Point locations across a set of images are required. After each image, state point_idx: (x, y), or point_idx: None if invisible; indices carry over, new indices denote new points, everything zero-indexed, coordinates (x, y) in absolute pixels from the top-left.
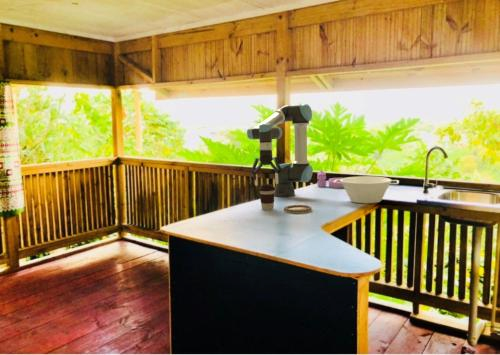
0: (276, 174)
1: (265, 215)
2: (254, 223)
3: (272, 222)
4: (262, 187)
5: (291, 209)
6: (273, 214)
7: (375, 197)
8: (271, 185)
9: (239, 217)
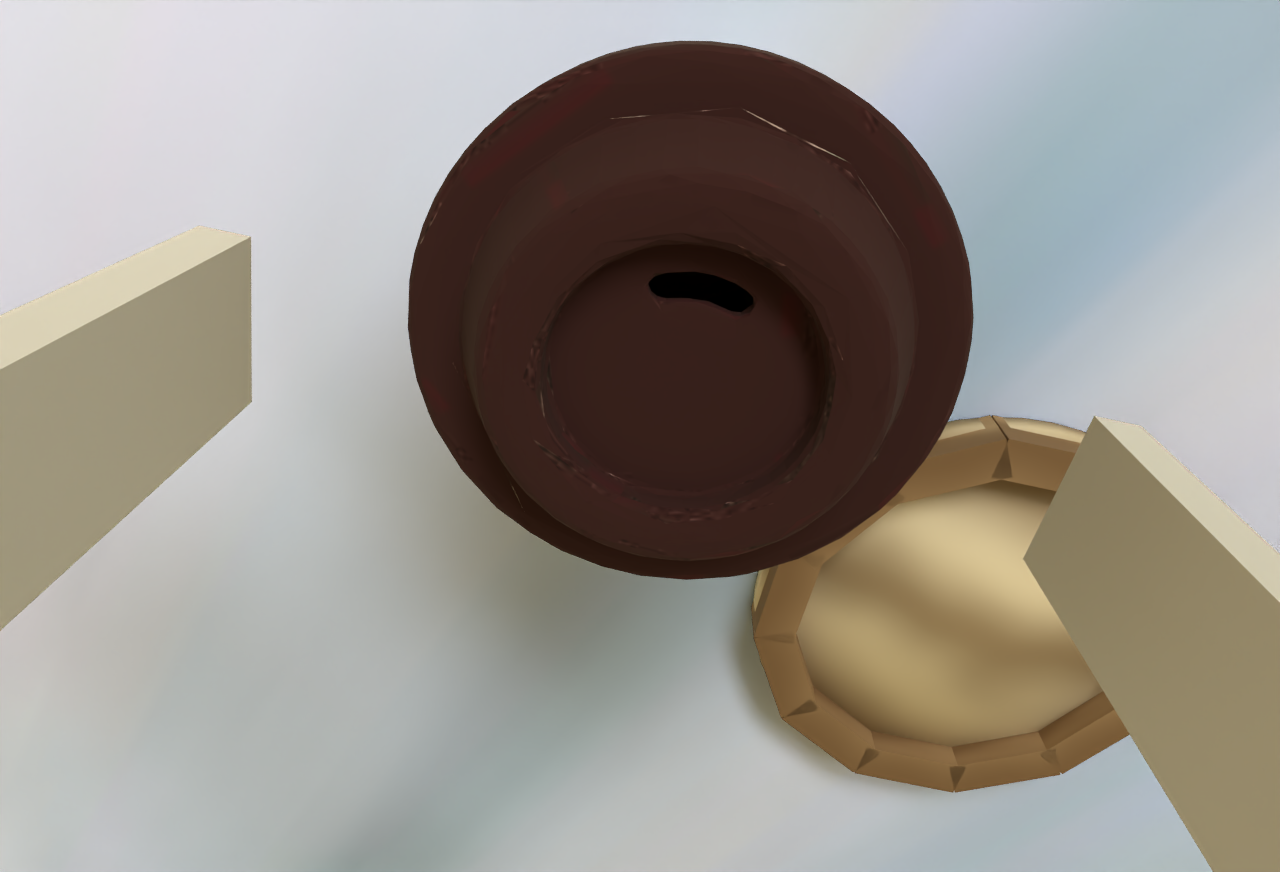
0: (1243, 828)
1: (404, 537)
2: (115, 733)
3: (310, 809)
4: (472, 388)
5: (888, 575)
6: (530, 562)
7: None
8: (746, 552)
9: None
